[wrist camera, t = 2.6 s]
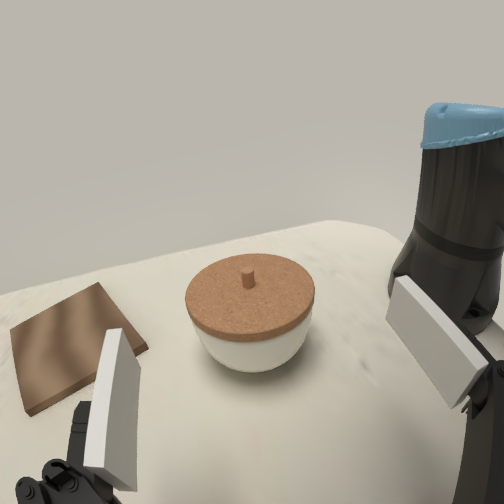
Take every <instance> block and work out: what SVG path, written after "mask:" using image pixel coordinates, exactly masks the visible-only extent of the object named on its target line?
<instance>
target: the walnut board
mask: <svg viewBox="0 0 504 504" xmlns="http://www.w3.org/2000/svg"><path fill="white" fill-rule="evenodd" d="M118 328H122V329H123V331H124V334H125V336H126V338H127V340H128V342H129V344H130V347H131V349H132V351H133V353H134V355H135V356H137V355H139V354H140V353H142V352H144V351H145V350H147V349H149V348H148V346H147V344H146V342H145V341H144V340H143V338H142V337H141V336H140V335H139V334H138V332H137V331H136V330H135V329H134V328H133V326H132V325H131V324H130V323H129V321H128V320H127V319H126V318H125V316H124V315H123V314H122V313H121V311H120V310H119V309H118V307H117V306H116V305H115V303H114V302H113V301H112V299H111V298H110V297H109V295H108V294H107V293H106V291H105V290H104V289H103V287H102V286H101V285H100V283H99V282H97V283H95V284H93V285H91V286H89V287H88V288H86V289H84V290H82V291H80V292H78V293H76V294H74V295H72V296H70V297H68V298H67V299H65V300H63V301H61V302H59V303H57V304H55V305H53V306H52V307H50V308H48V309H46V310H44V311H42V312H41V313H39V314H37V315H35V316H33V317H32V318H30V319H28V320H26V321H24V322H23V323H21V324H19V325H17V326H15V327H14V328H12V329H10V334H11V342H12V350H13V356H14V363H15V368H16V374H17V379H18V384H19V388H20V393H21V397H22V401H23V405H24V409H25V412H26V413H27V414H28V415H29V416H30V417H31V416H33V415H35V414H36V413H38V412H40V411H42V410H44V409H46V408H47V407H49V406H51V405H53V404H54V403H56V402H58V401H60V400H62V399H63V398H65V397H67V396H69V395H70V394H72V393H74V392H76V391H77V390H79V389H81V388H83V387H84V386H86V385H88V384H90V383H91V382H93V381H95V380H96V375H97V370H98V366H99V361H100V356H101V352H102V348H103V343H104V339H105V335H106V331H107V330H109V329H118Z"/></svg>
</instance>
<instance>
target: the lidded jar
mask: <svg viewBox="0 0 504 504" xmlns="http://www.w3.org/2000/svg"><path fill="white" fill-rule="evenodd" d="M314 294H315V287H314V282H313V280H312V278H311V276H310V275H309V273H308V272H307V271H306V270H305V269H304V268H303V267H302V266H300V265H299V264H297V263H296V262H294V261H292V260H290V259H287V258H284V257H281V256H276V255H270V254H244V255H237V256H232V257H229V258H225V259H222V260H220V261H217V262H215V263H213V264H211V265H209V266H208V267H206V268H204V269H203V270H202V271H200V272H199V273H198V274H197V275H196V276H195V277H194V278H193V279H192V281H191V283H190V284H189V286H188V288H187V291H186V296H185V301H186V307H187V310H188V313H189V315H190V318H191V320H192V323H193V325H194V328H195V331H196V333H197V335H198V337H199V339H200V341H201V343H202V344H203V346H204V347H205V349H206V350H207V351H208V353H209V354H210V355H211V356H212V357H213V358H214V359H216V360H217V361H218V362H219V363H221V364H223V365H224V366H226V367H229V368H231V369H233V370H237V371H240V372H248V373H257V372H264V371H268V370H272V369H274V368H276V367H279V366H280V365H282V364H284V363H285V362H287V361H288V360H289V359H290V358H292V357H293V356H294V355H295V354H296V352H297V351H298V350H299V349H300V347H301V346H302V344H303V342H304V340H305V338H306V335H307V333H308V330H309V327H310V322H311V316H312V306H313V303H314Z"/></svg>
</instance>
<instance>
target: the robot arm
mask: <svg viewBox="0 0 504 504" xmlns="http://www.w3.org/2000/svg"><path fill="white" fill-rule="evenodd" d="M421 148H422V149H423V153H422V166H421V175H420V184H419V193H418V200H417V207H416V215H415V220H414V227H413V230H412V232H411V234H410V236H409V238H408V240H407V241H406V243H405V245H404V247H403V248H402V250H401V252H400V254H399V256H398V257H397V259H396V261H395V263H394V264H393V267H392V270H391V274H390V279H389V285H388V291H389V295H390V298H391V299H390V303H389V307H388V311H387V315H386V320H387V322H388V323H389V324H390V326H391V327H392V328H393V330H394V331H395V332H396V333H397V335H398V336H399V337H400V339H401V340H402V341H403V343H404V344H405V345H406V347H407V348H408V349H409V351H410V352H411V353H412V355H413V356H414V358H415V359H416V360H417V362H418V363H419V364H420V366H421V367H422V369H423V370H424V371H425V373H426V374H427V376H428V377H429V378H430V380H431V381H432V383H433V384H434V386H435V387H436V388H437V390H438V391H439V393H440V394H441V396H442V397H443V399H444V400H445V401H446V403H447V404H448V406H449V407H450V409H452V408H453V407H455V406H457V405H458V404H460V403H462V402H463V400H464V399H465V398H466V396H467V395H469V397H470V399H469V401H468V402H467V403H466V405H465V406H464V407H463V408H462V411H461V413H463V412H464V411H465V410H466V409H467V407H468V410H467V412H466V413H467V423H466V433H465V441H464V448H463V455H462V461H461V467H460V472H459V477H458V482H457V487H456V491H455V495H454V499H453V503H452V504H504V360H498V361H496V360H495V359H494V358H493V357H492V355H491V354H490V353H489V352H488V351H487V350H486V349H485V347H484V346H483V345H482V344H481V343H480V342H479V341H478V340H476V337H475V336H474V335H475V334H477V333H479V332H481V331H482V330H484V329H485V328H486V327H487V326H488V324H489V323H490V321H491V319H492V317H493V315H494V313H495V310H496V308H497V305H498V301H499V291H500V278H501V260H502V255H503V252H504V108H498V107H490V106H482V105H471V104H456V103H435V104H433V105H431V106H430V107H429V108H428V109H427V111H426V113H425V120H424V132H423V141H422V142H421ZM140 372H141V367H140V365H139V363H138V361H137V359H136V357H135V355H134V353H133V351H132V349H131V347H130V344H129V342H128V340H127V338H126V336H125V334H124V331H123V329H122V328H118V329H109V330H107V331H106V335H105V339H104V343H103V348H102V352H101V356H100V361H99V366H98V370H97V375H96V380H95V386H94V391H93V396H92V401H80V402H79V404H78V406H77V407H76V409H75V411H74V415H73V420H72V423H73V424H72V426H71V433H70V438H69V445H68V452H67V460H66V461H64V460H61V459H52V460H50V461H48V462H47V463H46V464H45V465H44V468H43V470H42V479H43V481H36V480H34V479H33V478H30V477H23V478H21V479H19V481H18V482H17V484H16V488H15V490H16V497H17V500H18V504H122V503H121V502H120V501H119V500H118V499H117V497H116V496H115V495H113V487H114V488H116V489H117V490H119V491H134V492H137V421H138V400H139V385H140Z"/></svg>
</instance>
